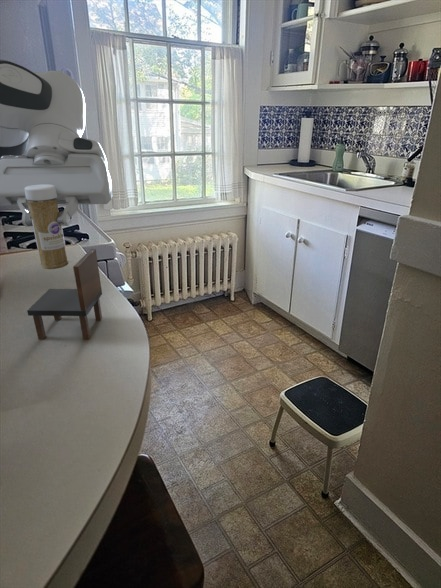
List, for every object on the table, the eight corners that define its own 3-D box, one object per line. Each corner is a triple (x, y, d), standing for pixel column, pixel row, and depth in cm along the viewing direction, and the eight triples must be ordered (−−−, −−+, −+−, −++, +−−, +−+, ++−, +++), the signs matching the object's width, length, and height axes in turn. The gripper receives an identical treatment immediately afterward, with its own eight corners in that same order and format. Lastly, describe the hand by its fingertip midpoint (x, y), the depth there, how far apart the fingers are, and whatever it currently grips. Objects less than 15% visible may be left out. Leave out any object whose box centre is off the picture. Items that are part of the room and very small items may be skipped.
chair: (34, 340, 69) (16, 266, 63) (55, 316, 77) (41, 248, 71) (90, 341, 68) (77, 266, 62) (105, 317, 77) (95, 248, 71)
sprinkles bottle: (56, 271, 65) (40, 189, 59) (35, 268, 66) (17, 187, 61) (75, 262, 69) (61, 184, 63) (54, 259, 70) (39, 182, 65)
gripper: (-16, 143, 65) (-31, 215, 60) (108, 142, 66) (103, 213, 61) (3, 167, 71) (-10, 235, 66) (116, 166, 72) (112, 232, 67)
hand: (45, 224), depth 64 cm, fingers closed on sprinkles bottle, 4 cm apart
